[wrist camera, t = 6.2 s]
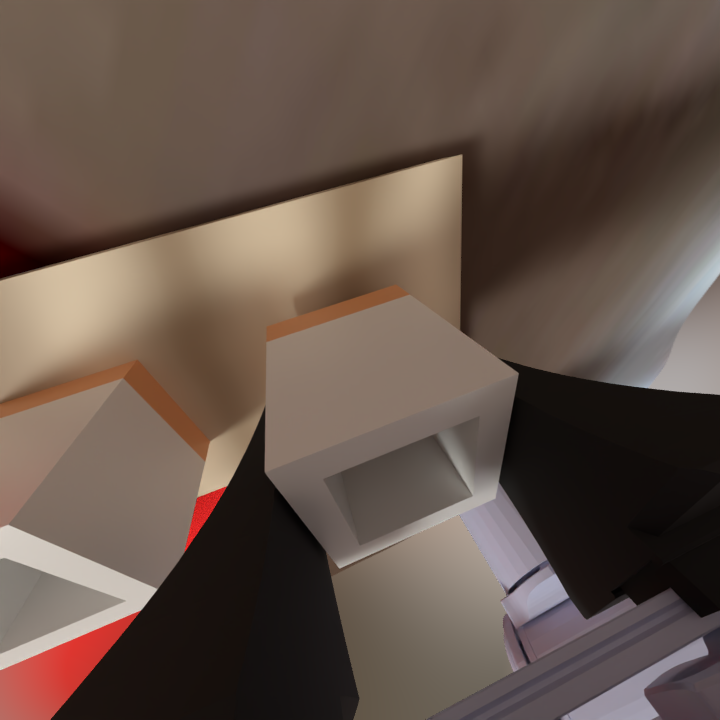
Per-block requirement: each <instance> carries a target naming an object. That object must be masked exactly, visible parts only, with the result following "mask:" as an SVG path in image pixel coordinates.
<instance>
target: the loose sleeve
mask: <svg viewBox="0 0 720 720" xmlns="http://www.w3.org/2000/svg"><path fill="white" fill-rule="evenodd" d="M518 375H519V373H518V372H516V371H515V370H513V369H512V368H511V367H509V366H508V365H507V364H505V363H504V362H502V361H501V360H500V359H498V358H497V357H496V356H494V355H493V354H491V353H490V352H489V351H487V350H486V349H485V348H483V347H482V346H480V345H479V344H478V343H476V342H475V341H473V340H472V339H471V338H469V337H468V336H467V335H465V334H464V333H462V332H461V331H460V330H458V329H457V328H456V327H454V326H453V325H451V324H450V323H449V322H447V321H446V320H445V319H443V318H442V317H440V316H439V315H438V314H436V313H435V312H433V311H432V310H431V309H429V308H428V307H427V306H425V305H424V304H422V303H421V302H420V301H418V300H417V299H416V298H414V297H413V296H411V295H410V294H409V293H407V292H406V291H405V290H403V289H402V288H400V287H399V286H398V285H393V286H390V287H386V288H383V289H380V290H377V291H374V292H371V293H368V294H365V295H362V296H359V297H356V298H353V299H350V300H347V301H343V302H340V303H337V304H334V305H331V306H328V307H325V308H322V309H319V310H316V311H313V312H310V313H307V314H304V315H300V316H297V317H294V318H291V319H288V320H285V321H282V322H279V323H276V324H273V325H270V326H267V337H266V411H265V473H266V475H267V476H268V477H269V479H270V480H271V481H272V482H273V484H274V485H275V486H276V488H277V489H278V490H279V491H280V493H281V494H282V495H283V497H284V498H285V499H286V500H287V502H288V503H289V504H290V506H291V507H292V508H293V509H294V511H295V512H296V513H297V515H298V516H299V517H300V518H301V520H302V521H303V522H304V524H305V525H306V526H307V527H308V529H309V530H310V531H311V533H312V534H313V535H314V536H315V538H316V539H317V540H318V542H319V543H320V544H321V545H322V547H323V548H324V549H325V551H326V552H327V553H328V554H329V556H330V557H331V558H332V560H333V561H334V562H335V563H336V565H337V566H338V567H339V568H341V567H344V566H346V565H348V564H350V563H352V562H355V561H357V560H359V559H361V558H364V557H366V556H368V555H370V554H373V553H375V552H377V551H379V550H382V549H384V548H386V547H388V546H390V545H393V544H395V543H397V542H399V541H402V540H404V539H406V538H408V537H411V536H413V535H415V534H417V533H420V532H422V531H424V530H426V529H428V528H431V527H433V526H435V525H437V524H440V523H442V522H444V521H446V520H449V519H451V518H453V517H455V516H458V515H460V514H462V513H464V512H466V511H469V510H471V509H473V508H475V507H478V506H480V505H482V504H484V503H487V502H489V501H491V500H493V499H495V498H496V493H497V487H498V482H499V477H500V471H501V466H502V461H503V455H504V450H505V444H506V439H507V434H508V428H509V423H510V418H511V412H512V407H513V402H514V396H515V391H516V385H517V380H518Z"/></svg>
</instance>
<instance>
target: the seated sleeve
mask: <svg viewBox="0 0 720 720" xmlns="http://www.w3.org/2000/svg"><path fill="white" fill-rule="evenodd" d="M209 444H210V440H209V439H208V438H207V437H206V436H205V435H204V434H203V433H202V431H201V430H200V429H199V428H198V427H197V426H196V425H195V424H194V422H193V421H192V420H191V419H190V418H189V417H188V416H187V415H186V413H185V412H184V411H183V410H182V409H181V408H180V407H179V406H178V404H177V403H176V402H175V401H174V400H173V399H172V398H171V397H170V395H169V394H168V393H167V392H166V391H165V390H164V389H163V388H162V386H161V385H160V384H159V383H158V382H157V381H156V380H155V379H154V377H153V376H152V375H151V374H150V373H149V372H148V371H147V370H146V368H145V367H144V366H143V365H142V364H141V363H140V362H139V361H138V360H135V361H132V362H128V363H125V364H122V365H119V366H116V367H113V368H110V369H107V370H104V371H101V372H97V373H94V374H91V375H88V376H85V377H82V378H79V379H76V380H73V381H69V382H66V383H63V384H60V385H57V386H54V387H51V388H48V389H45V390H42V391H38V392H35V393H32V394H29V395H26V396H23V397H20V398H17V399H14V400H11V401H7V402H4V403H1V404H0V670H2V669H4V668H7V667H9V666H11V665H13V664H16V663H18V662H21V661H23V660H25V659H28V658H30V657H32V656H35V655H37V654H39V653H42V652H44V651H46V650H49V649H51V648H53V647H55V646H58V645H60V644H63V643H65V642H67V641H70V640H72V639H74V638H77V637H79V636H81V635H84V634H86V633H88V632H91V631H93V630H95V629H98V628H100V627H103V626H105V625H107V624H109V623H112V622H114V621H117V620H119V619H121V618H124V617H126V616H128V615H130V614H133V613H135V612H138V611H140V610H142V609H143V607H144V606H145V605H146V604H147V602H148V601H149V600H150V598H151V597H152V596H153V595H154V593H155V592H156V591H157V589H158V588H159V587H160V585H161V584H162V583H163V581H164V580H165V579H166V577H167V576H168V575H169V573H170V572H171V571H172V569H173V568H174V567H175V565H176V564H177V563H178V561H179V560H180V558H181V557H182V555H183V554H184V551H185V547H186V542H187V538H188V534H189V529H190V525H191V521H192V517H193V512H194V508H195V504H196V500H197V495H198V491H199V487H200V483H201V478H202V474H203V470H204V466H205V461H206V457H207V453H208V448H209Z"/></svg>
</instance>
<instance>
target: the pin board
mask: <svg viewBox="0 0 720 720" xmlns="http://www.w3.org/2000/svg"><path fill="white" fill-rule="evenodd" d="M461 221H462V155H457V156H452V157H447V158H441V159H437V160H434V161H430V162H426V163H423V164H419V165H415V166H412V167H408V168H404V169H401V170H397V171H393V172H390V173H386V174H382V175H379V176H375V177H371V178H368V179H364V180H360V181H357V182H353V183H349V184H346V185H342V186H338V187H335V188H331V189H327V190H324V191H320V192H316V193H313V194H309V195H305V196H302V197H298V198H294V199H291V200H287V201H283V202H280V203H276V204H272V205H269V206H265V207H261V208H258V209H254V210H250V211H247V212H243V213H239V214H236V215H232V216H228V217H225V218H221V219H217V220H214V221H210V222H206V223H203V224H199V225H195V226H192V227H188V228H184V229H181V230H177V231H173V232H170V233H166V234H162V235H159V236H155V237H151V238H148V239H144V240H140V241H137V242H133V243H129V244H126V245H122V246H118V247H115V248H111V249H107V250H104V251H100V252H96V253H93V254H89V255H85V256H82V257H78V258H74V259H71V260H67V261H63V262H60V263H56V264H52V265H49V266H45V267H41V268H38V269H34V270H30V271H27V272H23V273H19V274H16V275H12V276H8V277H5V278H1V279H0V404H1V403H4V402H7V401H11V400H14V399H17V398H20V397H23V396H26V395H29V394H32V393H35V392H38V391H42V390H45V389H48V388H51V387H54V386H57V385H60V384H63V383H66V382H69V381H73V380H76V379H79V378H82V377H85V376H88V375H91V374H94V373H97V372H101V371H104V370H107V369H110V368H113V367H116V366H119V365H122V364H125V363H128V362H132V361H135V360H138V361H139V362H140V363H141V364H142V365H143V366H144V367H145V368H146V370H147V371H148V372H149V373H150V374H151V375H152V376H153V377H154V379H155V380H156V381H157V382H158V383H159V384H160V385H161V386H162V388H163V389H164V390H165V391H166V392H167V393H168V394H169V395H170V397H171V398H172V399H173V400H174V401H175V402H176V403H177V404H178V406H179V407H180V408H181V409H182V410H183V411H184V412H185V413H186V415H187V416H188V417H189V418H190V419H191V420H192V421H193V422H194V424H195V425H196V426H197V427H198V428H199V429H200V430H201V431H202V433H203V434H204V435H205V436H206V437H207V438H208V439H209V440H210V444H209V448H208V453H207V457H206V461H205V466H204V470H203V474H202V478H201V483H200V487H199V491H198V495H197V497H200V496H202V495H205V494H207V493H210V492H213V491H215V490H218V489H220V488H223V487H225V486H228V484H229V482H230V480H231V479H232V477H233V475H234V473H235V471H236V469H237V467H238V465H239V463H240V461H241V459H242V457H243V455H244V453H245V451H246V449H247V447H248V445H249V443H250V440H251V438H252V436H253V434H254V431H255V429H256V427H257V425H258V422H259V420H260V417H261V415H262V412H263V410H264V407H265V405H266V337H267V326H270V325H273V324H276V323H279V322H282V321H285V320H288V319H291V318H294V317H297V316H300V315H304V314H307V313H310V312H313V311H316V310H319V309H322V308H325V307H328V306H331V305H334V304H337V303H340V302H343V301H347V300H350V299H353V298H356V297H359V296H362V295H365V294H368V293H371V292H374V291H377V290H380V289H383V288H386V287H390V286H393V285H398V286H399V287H400V288H402V289H403V290H405V291H406V292H407V293H409V294H410V295H411V296H413V297H414V298H416V299H417V300H418V301H420V302H421V303H422V304H424V305H425V306H427V307H428V308H429V309H431V310H432V311H433V312H435V313H436V314H438V315H439V316H440V317H442V318H443V319H445V320H446V321H447V322H449V323H450V324H451V325H453V326H454V327H456V328H457V329H458V330H460V300H461Z"/></svg>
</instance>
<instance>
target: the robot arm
mask: <svg viewBox="0 0 720 720" xmlns="http://www.w3.org/2000/svg"><path fill="white" fill-rule="evenodd" d="M498 359H500V358H498ZM500 360H501V361H502V362H504V363H505V364H507V365H508V366H509V367H511V368H512V369H513V370H515V371H516V372H518V373H519V375H518V380H517V385H516V391H515V396H514V402H513V407H512V412H511V418H510V423H509V428H508V434H507V439H506V444H505V450H504V455H503V461H502V466H501V471H500V477H499V482H498V487H497V493H496V498H495V499H493V500H491V501H489V502H487V503H484V504H482V505H480V506H478V507H475V508H473V509H471V510H469V511H466V512H464V513H462V514H460V517H461V519H462V521H463V522H464V524H465V526H466V527H467V529H468V531H469V532H470V534H471V536H472V537H473V539H474V541H475V543H476V544H477V546H478V548H479V549H480V551H481V553H482V554H483V556H484V558H485V559H486V561H487V563H488V565H489V566H490V568H491V570H492V571H493V573H494V575H495V576H496V578H497V580H498V582H499V583H500V585H501V587H502V588H503V590H504V591H505V593H506V595H507V597H505V598H504V599H502V600H501V603H502V605H503V607H504V609H505V610H506V612H507V614H506V615H505V616H504V618H503V628H504V643H505V647H506V652H507V655H508V658H509V661H510V664H511V667H512V670H513V673H511V674H509V675H508V676H506V677H504V678H502V679H500V680H498V681H497V682H495V683H493V684H491V685H489V686H487V687H485V688H483V689H482V690H480V691H478V692H476V693H474V694H472V695H470V696H469V697H467V698H465V699H463V700H461V701H459V702H457V703H456V704H454V705H452V706H450V707H448V708H446V709H444V710H442V711H441V712H439V713H437V714H435V715H433V716H431V717H430V718H428V719H426V720H720V395H714V394H700V393H686V392H675V391H665V390H657V389H648V388H640V387H632V386H624V385H617V384H610V383H604V382H598V381H592V380H586V379H581V378H575V377H570V376H565V375H560V374H556V373H552V372H547V371H543V370H539V369H535V368H531V367H527V366H523V365H520V364H517V363H513V362H510V361H506V360H503V359H500ZM265 411H266V405H265V407H264V410H263V412H262V415H261V417H260V420H259V422H258V425H257V427H256V429H255V431H254V434H253V436H252V438H251V440H250V443H249V445H248V447H247V449H246V451H245V453H244V455H243V457H242V459H241V461H240V463H239V465H238V467H237V469H236V471H235V473H234V475H233V477H232V479H231V480H230V482H229V484H228V486H227V488H226V489H225V491H224V493H223V495H222V496H221V498H220V500H219V501H218V503H217V505H216V506H215V508H214V510H213V511H212V513H211V514H210V516H209V517H208V519H207V520H206V522H205V523H204V525H203V526H202V528H201V529H200V531H199V532H198V534H197V535H196V537H195V538H194V539H193V541H192V542H191V544H190V545H189V547H188V548H187V550H186V551H185V553H184V554H183V555H182V557H181V558H180V560H179V561H178V563H177V564H176V565H175V567H174V568H173V569H172V571H171V572H170V573H169V575H168V576H167V577H166V579H165V580H164V581H163V583H162V584H161V585H160V587H159V588H158V589H157V591H156V592H155V593H154V595H153V596H152V597H151V598H150V600H149V601H148V602H147V604H146V605H145V606H144V607H143V609H142V610H141V611H140V613H139V614H138V615H137V616H136V618H135V619H134V620H133V622H132V623H131V624H130V625H129V627H128V628H127V629H126V630H125V631H124V633H123V634H122V635H121V636H120V638H119V639H118V640H117V641H116V643H115V644H114V645H113V646H112V647H111V649H110V650H109V651H108V652H107V653H106V654H105V656H104V657H103V658H102V659H101V661H100V662H99V663H98V664H97V665H96V666H95V668H94V669H93V670H92V671H91V673H90V674H89V675H88V676H87V677H86V678H85V680H84V681H83V682H82V683H81V684H80V686H79V687H78V688H77V689H76V690H75V692H74V693H73V694H72V695H71V696H70V698H69V699H68V700H67V701H66V702H65V703H64V705H63V706H62V707H61V708H60V709H59V710H58V711H57V713H56V714H55V715H54V716H53V717H52V718H51V720H353V718H354V716H355V712H356V709H357V706H358V702H359V695H358V691H357V688H356V683H355V679H354V675H353V671H352V667H351V663H350V658H349V654H348V650H347V646H346V642H345V637H344V633H343V629H342V624H341V620H340V615H339V611H338V607H337V602H336V598H335V593H334V588H333V584H332V579H331V574H330V570H329V565H328V560H327V555H326V551H325V549H324V548H323V547H322V545H321V544H320V543H319V542H318V540H317V539H316V538H315V536H314V535H313V534H312V533H311V531H310V530H309V529H308V527H307V526H306V525H305V524H304V522H303V521H302V520H301V518H300V517H299V516H298V515H297V513H296V512H295V511H294V509H293V508H292V507H291V506H290V504H289V503H288V502H287V500H286V499H285V498H284V497H283V495H282V494H281V493H280V491H279V490H278V489H277V488H276V486H275V485H274V484H273V482H272V481H271V480H270V479H269V477H268V476H267V475H266V473H265Z"/></svg>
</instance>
